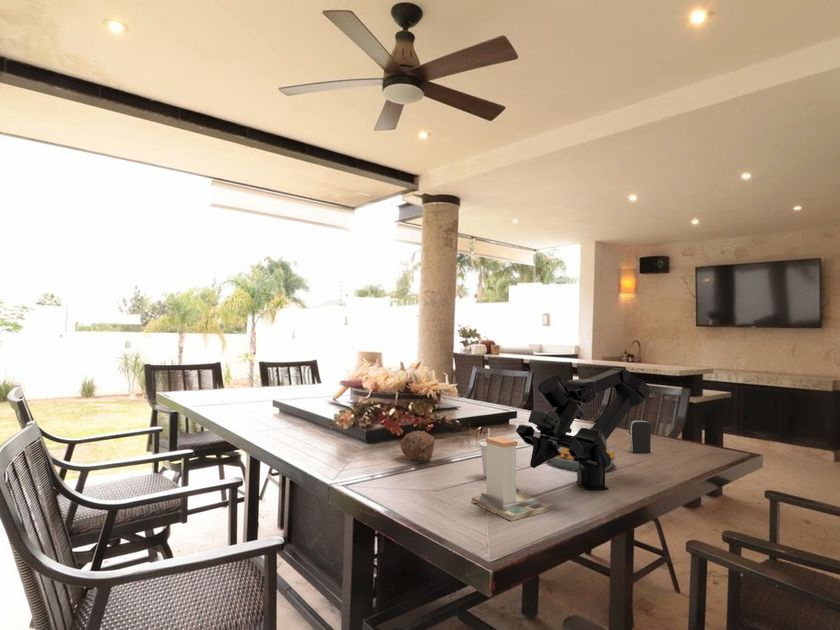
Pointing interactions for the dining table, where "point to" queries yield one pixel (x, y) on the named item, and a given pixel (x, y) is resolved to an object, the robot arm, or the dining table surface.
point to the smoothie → (484, 454)
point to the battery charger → (640, 436)
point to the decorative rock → (418, 445)
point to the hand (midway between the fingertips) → (531, 466)
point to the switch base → (513, 506)
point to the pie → (568, 460)
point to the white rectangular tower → (501, 469)
